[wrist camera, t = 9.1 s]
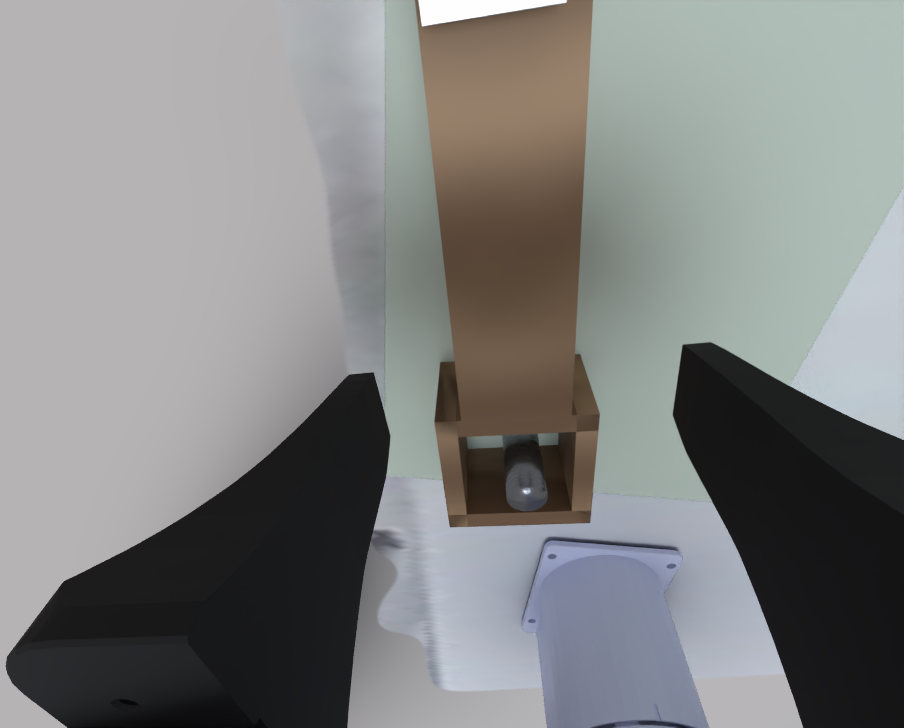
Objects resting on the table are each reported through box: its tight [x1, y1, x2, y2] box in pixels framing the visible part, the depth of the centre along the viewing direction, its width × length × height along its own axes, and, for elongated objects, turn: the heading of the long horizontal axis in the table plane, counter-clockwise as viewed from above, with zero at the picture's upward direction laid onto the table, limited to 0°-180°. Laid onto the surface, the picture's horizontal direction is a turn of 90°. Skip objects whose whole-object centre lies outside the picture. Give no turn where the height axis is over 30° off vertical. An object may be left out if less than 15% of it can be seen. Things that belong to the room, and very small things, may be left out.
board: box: [385, 0, 904, 502], centre depth 18 cm, size 27×18×1 cm, turn 176°
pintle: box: [502, 434, 548, 511], centre depth 21 cm, size 2×2×5 cm
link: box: [415, 0, 600, 527], centre depth 17 cm, size 20×6×4 cm, turn 5°
